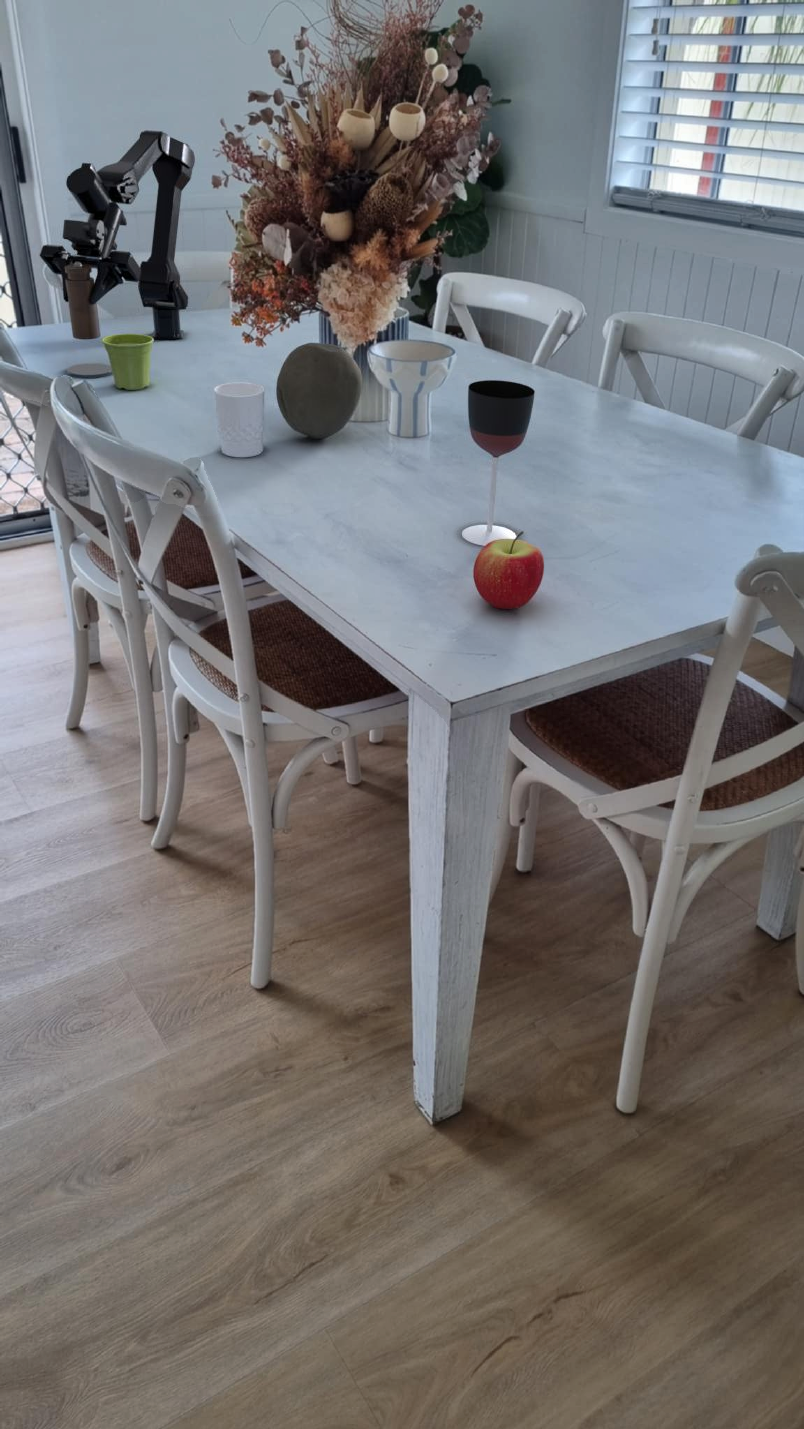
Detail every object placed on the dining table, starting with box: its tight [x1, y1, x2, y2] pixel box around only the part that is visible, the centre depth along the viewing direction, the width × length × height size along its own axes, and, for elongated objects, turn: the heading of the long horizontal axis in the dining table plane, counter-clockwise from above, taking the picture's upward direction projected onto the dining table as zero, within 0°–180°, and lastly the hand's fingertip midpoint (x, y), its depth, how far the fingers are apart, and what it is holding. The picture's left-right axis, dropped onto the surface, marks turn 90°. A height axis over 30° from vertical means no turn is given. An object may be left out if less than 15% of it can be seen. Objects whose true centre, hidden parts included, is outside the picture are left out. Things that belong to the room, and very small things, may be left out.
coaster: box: [66, 362, 113, 379], centre depth 209 cm, size 9×9×1 cm
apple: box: [472, 530, 545, 610], centre depth 126 cm, size 8×8×10 cm
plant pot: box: [101, 333, 155, 391], centre depth 199 cm, size 9×9×9 cm
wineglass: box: [461, 379, 536, 547], centre depth 141 cm, size 8×9×20 cm
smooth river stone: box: [275, 342, 363, 440], centre depth 176 cm, size 14×14×15 cm
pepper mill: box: [65, 262, 102, 341], centre depth 202 cm, size 5×5×14 cm
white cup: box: [213, 381, 265, 458], centre depth 170 cm, size 8×8×10 cm
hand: (78, 302), depth 201 cm, fingers closed on pepper mill, 5 cm apart
